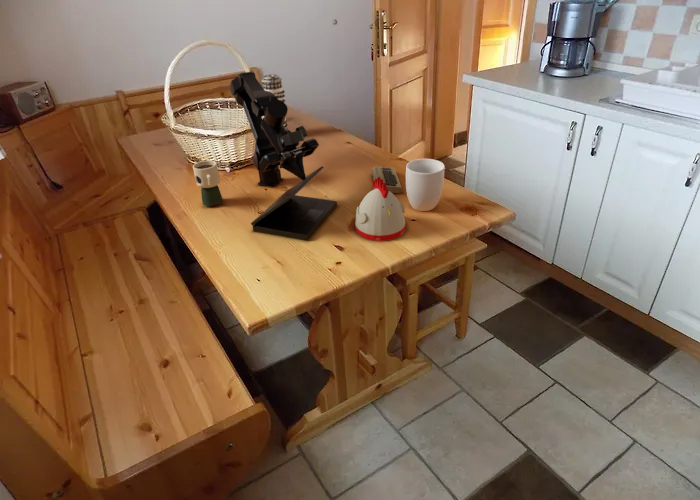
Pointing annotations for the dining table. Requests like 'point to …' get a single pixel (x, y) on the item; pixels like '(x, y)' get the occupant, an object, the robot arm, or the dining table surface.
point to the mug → (424, 183)
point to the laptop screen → (287, 195)
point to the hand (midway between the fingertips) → (304, 179)
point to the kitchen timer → (380, 214)
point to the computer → (388, 178)
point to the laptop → (296, 218)
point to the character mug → (208, 182)
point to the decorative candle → (274, 88)
